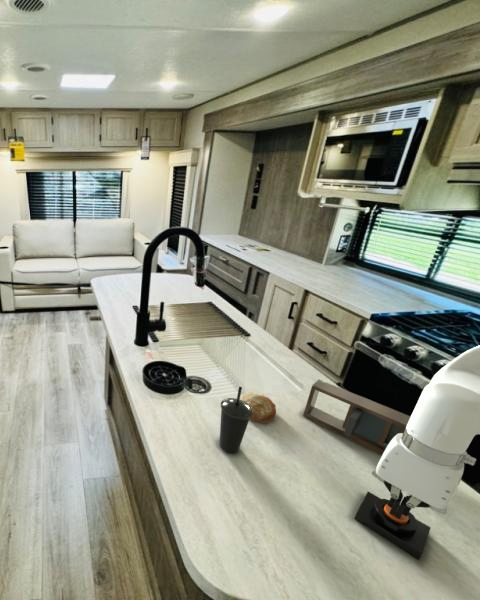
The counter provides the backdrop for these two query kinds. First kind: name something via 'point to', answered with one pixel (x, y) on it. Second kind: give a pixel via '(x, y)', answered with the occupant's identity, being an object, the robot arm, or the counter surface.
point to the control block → (393, 526)
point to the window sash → (366, 425)
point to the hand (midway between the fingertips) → (395, 512)
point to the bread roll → (260, 407)
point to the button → (402, 520)
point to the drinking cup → (233, 422)
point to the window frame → (359, 402)
